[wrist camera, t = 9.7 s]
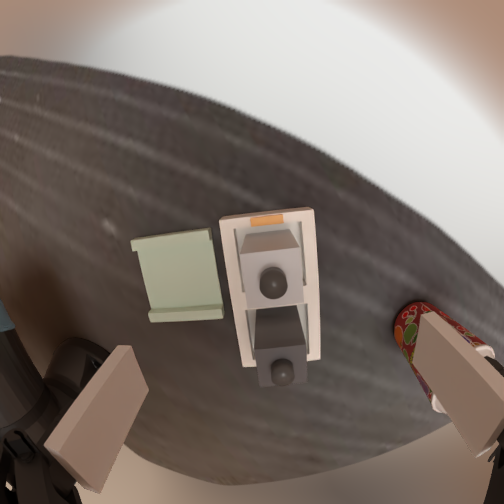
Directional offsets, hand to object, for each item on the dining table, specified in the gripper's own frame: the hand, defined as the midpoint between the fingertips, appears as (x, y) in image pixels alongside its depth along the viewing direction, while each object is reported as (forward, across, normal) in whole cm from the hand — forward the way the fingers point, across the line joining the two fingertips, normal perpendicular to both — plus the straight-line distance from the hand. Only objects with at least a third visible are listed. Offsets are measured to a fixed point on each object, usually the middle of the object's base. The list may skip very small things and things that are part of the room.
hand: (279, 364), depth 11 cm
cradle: (+20, -10, -2) cm, 22 cm away
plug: (+18, 0, 0) cm, 19 cm away
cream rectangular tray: (+20, 0, -4) cm, 20 cm away
